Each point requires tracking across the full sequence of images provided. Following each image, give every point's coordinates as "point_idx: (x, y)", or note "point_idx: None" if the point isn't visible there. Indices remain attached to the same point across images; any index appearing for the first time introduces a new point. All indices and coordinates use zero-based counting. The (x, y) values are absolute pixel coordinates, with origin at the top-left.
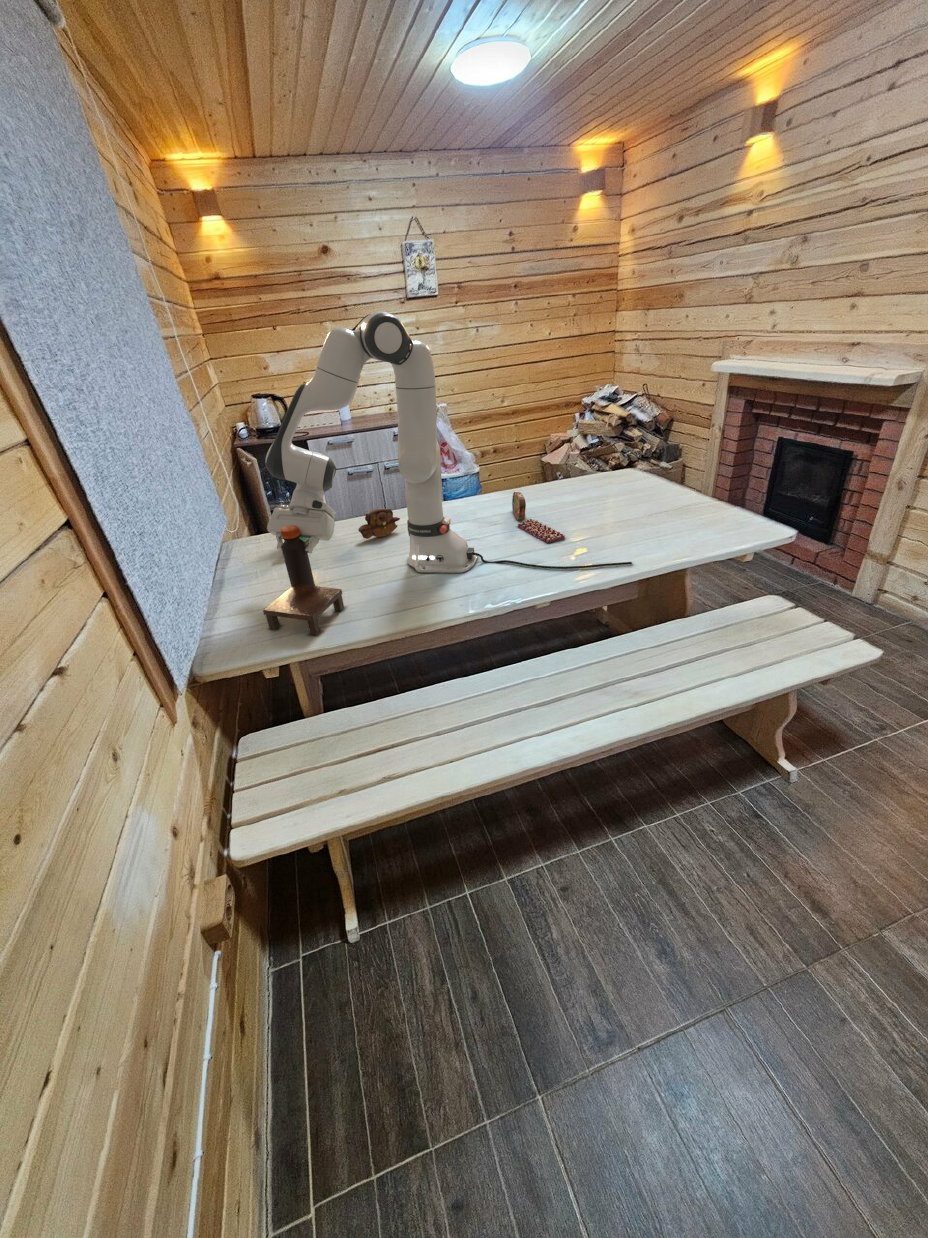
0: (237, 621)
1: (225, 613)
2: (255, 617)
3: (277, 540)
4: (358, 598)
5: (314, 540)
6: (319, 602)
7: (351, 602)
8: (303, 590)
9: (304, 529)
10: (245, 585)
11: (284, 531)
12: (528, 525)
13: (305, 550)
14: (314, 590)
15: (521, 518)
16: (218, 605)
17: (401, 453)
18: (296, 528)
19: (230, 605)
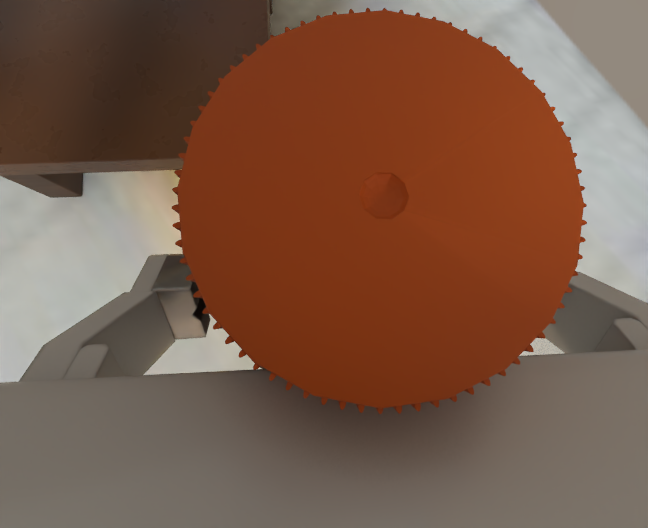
0: (434, 3)
1: (527, 39)
2: None
3: (596, 282)
4: (25, 292)
5: (50, 341)
6: (14, 11)
7: (41, 250)
8: (175, 100)
9: (186, 444)
10: (637, 262)
11: (375, 14)
12: None
13: None
14: (113, 115)
15: None
16: (607, 83)
17: None
18: (198, 231)
19: (558, 95)
